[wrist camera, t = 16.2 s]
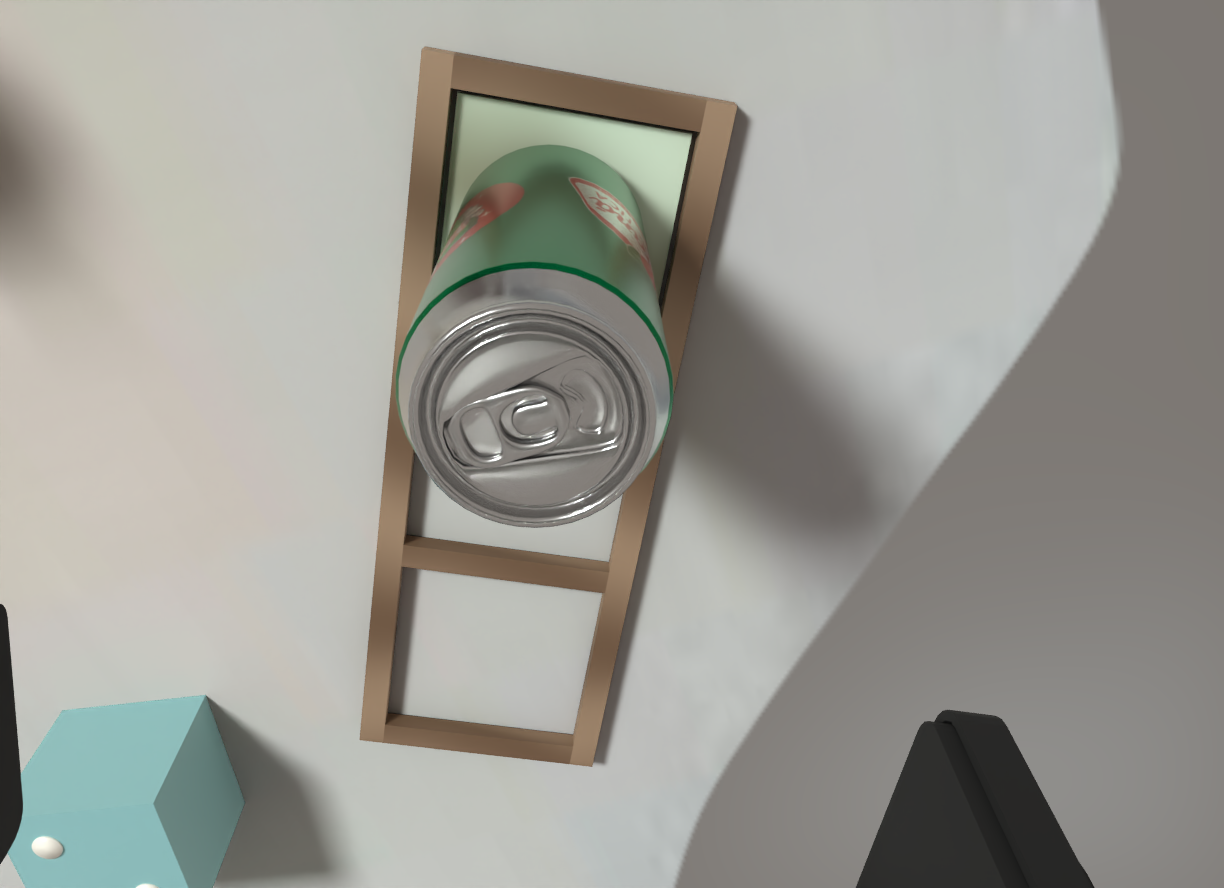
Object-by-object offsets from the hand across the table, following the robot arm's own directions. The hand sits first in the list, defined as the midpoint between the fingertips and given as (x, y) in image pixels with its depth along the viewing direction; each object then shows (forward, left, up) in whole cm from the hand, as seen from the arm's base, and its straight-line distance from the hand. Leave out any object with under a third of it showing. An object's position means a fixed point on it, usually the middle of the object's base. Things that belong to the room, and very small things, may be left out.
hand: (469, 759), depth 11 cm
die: (-17, +16, -21) cm, 31 cm away
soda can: (0, 0, -20) cm, 20 cm away
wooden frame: (-7, +1, -20) cm, 22 cm away
